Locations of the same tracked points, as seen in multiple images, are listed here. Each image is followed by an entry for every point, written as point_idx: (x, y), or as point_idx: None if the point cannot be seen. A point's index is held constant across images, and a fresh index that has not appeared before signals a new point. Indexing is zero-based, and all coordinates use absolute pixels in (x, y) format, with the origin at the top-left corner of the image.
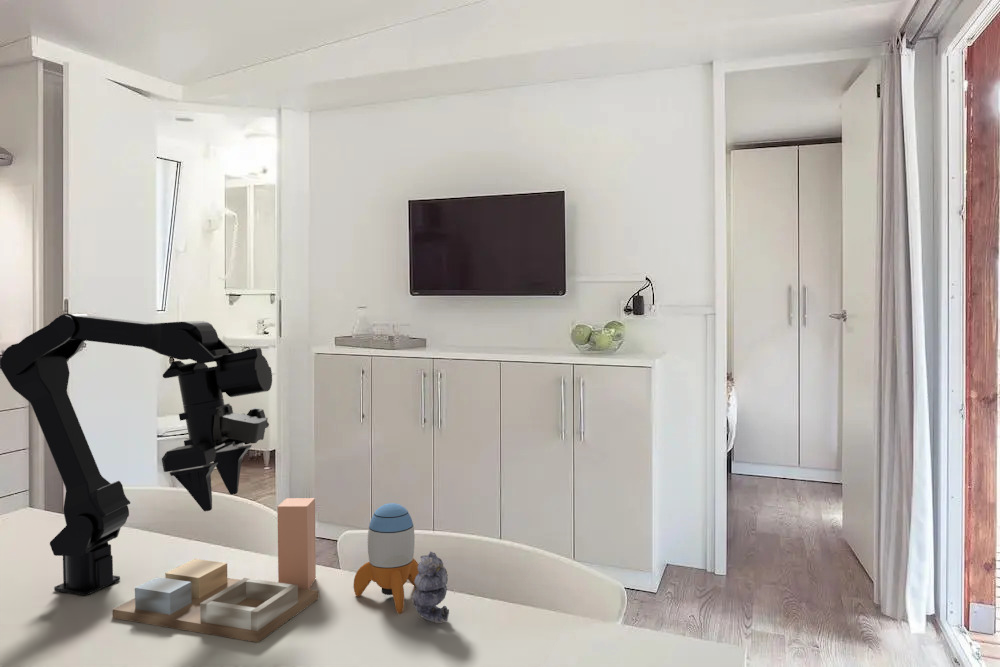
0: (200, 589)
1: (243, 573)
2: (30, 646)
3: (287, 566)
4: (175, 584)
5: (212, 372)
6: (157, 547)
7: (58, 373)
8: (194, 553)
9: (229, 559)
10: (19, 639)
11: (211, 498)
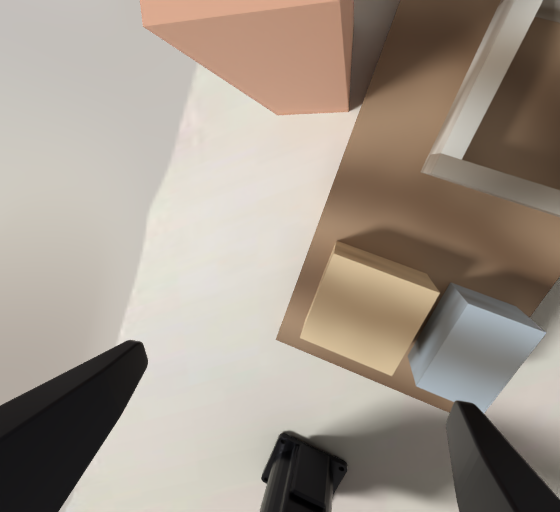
0: (426, 278)
1: (246, 232)
2: (554, 485)
3: (349, 66)
4: (480, 335)
5: None
6: (141, 414)
7: None
8: (158, 352)
9: (177, 283)
10: None
11: (501, 465)
